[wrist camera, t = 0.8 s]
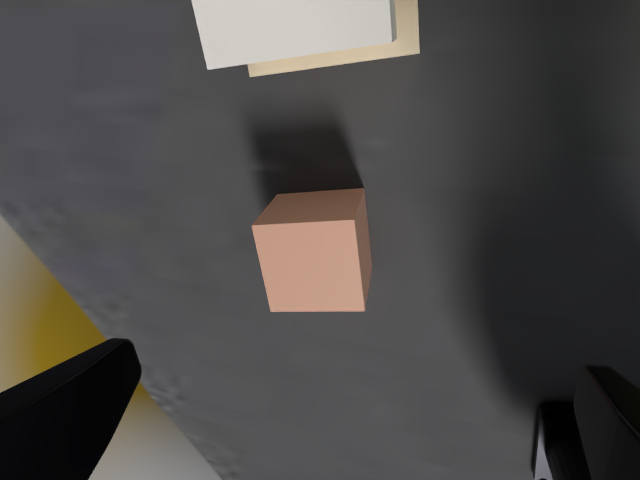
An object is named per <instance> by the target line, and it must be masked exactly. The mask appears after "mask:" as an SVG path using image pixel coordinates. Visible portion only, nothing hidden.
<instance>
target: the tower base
mask: <svg viewBox="0 0 640 480" xmlns="http://www.w3.org/2000/svg"><path fill="white" fill-rule="evenodd" d="M395 7H396V24H397V39H396V40H395V41H394V42H392V43H386V44H379V45H373V46H366V47H359V48H352V49H346V50H339V51H332V52H325V53H318V54H312V55H305V56H298V57H291V58H285V59H278V60H271V61H264V62H257V63H251V64H248V69H249V75H250V77H255V76H262V75H269V74H276V73H283V72H290V71H297V70H304V69H312V68H319V67H326V66H333V65H340V64H347V63H354V62H362V61H369V60H376V59H383V58H390V57H397V56H404V55H412V54H419V53H420V50H419V25H418V0H395Z"/></svg>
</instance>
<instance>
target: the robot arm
mask: <svg viewBox="0 0 640 480" xmlns="http://www.w3.org/2000/svg"><path fill="white" fill-rule="evenodd" d="M141 372H142V370H141V365H140V362H139V359H138V356H137V353H136V350H135V347H134V345H133V343H132V342H131V340H129V339H122V338H112V339H109V340H107V341H105V342H103V343H101V344H99V345H97V346H95V347H93V348H91V349H89V350H87V351H85V352H83V353H81V354H78V355H77V356H74V357H72V358H70V359H68V360H66V361H64V362H62V363H60V364H58V365H56V366H54V367H52V368H50V369H48V370H46V371H44V372H42V373H40V374H38V375H36V376H34V377H32V378H30V379H28V380H26V381H24V382H22V383H20V384H17V385H15V386H13V387H11V388H10V389H7V390H5V391H3V392H1V393H0V480H88V479H89V477H90V475H91V474H92V472H93V470H94V469H95V467H96V465H97V464H98V462H99V460H100V459H101V457H102V455H103V453H104V452H105V450H106V448H107V446H108V444H109V442H110V441H111V439H112V437H113V434H114V433H115V431H116V428H117V427H118V424H119V422H120V420H121V418H122V416H123V414H124V412H125V410H126V408H127V405H128V403H129V401H130V399H131V397H132V395H133V393H134V391H135V389H136V387H137V385H138V382H139V380H140V378H141ZM548 411H551V412H548ZM533 478H534V480H640V388H638V387H637V386H636V385H634V384H633V383H632V382H630V381H629V380H627V379H626V378H625V377H623V376H622V375H621V374H619V373H618V372H617V371H615V370H614V369H612V368H611V367H608V366H600V365H584V366H582V367H581V369H580V372H579V376H578V381H577V386H576V392H575V397H574V403H572V402H545V403H542V404H541V405H540V407H539V416H538V426H537V437H536V447H535V457H534V467H533Z"/></svg>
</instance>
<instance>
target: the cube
mask: <svg viewBox="0 0 640 480" xmlns="http://www.w3.org/2000/svg"><path fill="white" fill-rule="evenodd" d="M252 230H253V234H254V239H255V243H256V248H257V252H258V257H259V261H260V265H261V270H262V274H263V279H264V283H265V288H266V292H267V297H268V301H269V306H270V310H271V312H316V311H365V308H366V302H367V296H368V290H369V284H370V278H371V272H372V261H371V251H370V241H369V231H368V221H367V212H366V202H365V192H364V188H357V189H343V190H329V191H315V192H301V193H287V194H277V195H276V196H275V197H274V199H273V200H272V201H271V202H270V204H269V205H268V206H267V207H266V208H265V210H264V211H263V212H262V213H261V215H260V216H259V217H258V218H257V219H256V221H255V222H254V223H253V224H252Z"/></svg>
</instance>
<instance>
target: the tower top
mask: <svg viewBox="0 0 640 480" xmlns="http://www.w3.org/2000/svg"><path fill="white" fill-rule="evenodd" d="M192 5H193V9H194V13H195V18H196V22H197V26H198V30H199V35H200V39H201V43H202V48H203V52H204V56H205V61H206V65H207V69H208V70H210V69H217V68H223V67H230V66H237V65H244V64H251V63H257V62H264V61H271V60H278V59H285V58H291V57H298V56H305V55H312V54H318V53H325V52H332V51H339V50H346V49H352V48H359V47H366V46H373V45H379V44H386V43H392V42H394V41H395V40H396V39H397V24H396V7H395V0H192Z"/></svg>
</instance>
